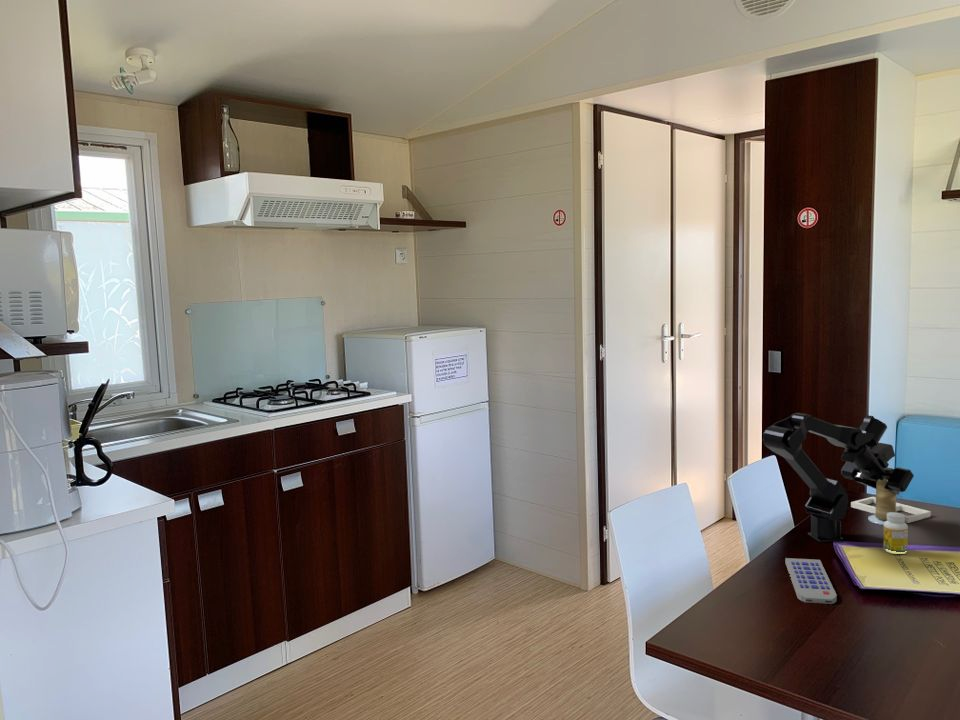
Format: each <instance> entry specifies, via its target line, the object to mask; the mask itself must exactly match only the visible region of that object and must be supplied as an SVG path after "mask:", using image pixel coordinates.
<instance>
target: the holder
mask: <svg viewBox="0 0 960 720" xmlns="http://www.w3.org/2000/svg"><path fill="white" fill-rule="evenodd" d="M871 504H874V505H876V496H870V497H866V498H862V499H858V500H854V501H851V502H850V508H853V509H857V510H859V511H863V512H868V513H871V514H873V515H875V513H876V506H873V505H871ZM900 511H902V512H906V513H909V515H906V514H904V515H905V523H906V524H910V523H913V522H917V521H920V520H923V519H924V520H925V519H927V518H931V516H932V511H930V510H926V509H923V508H918V507H915V506H911V505H906V504H903V503H899V502H896V513H898V512H900Z"/></svg>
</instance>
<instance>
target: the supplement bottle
mask: <svg viewBox="0 0 960 720" xmlns="http://www.w3.org/2000/svg"><path fill="white" fill-rule="evenodd" d="M905 515H906V514H903V513H901V512H889V513H887V520H888V521H886V522H884V525H883V549H884V548H885V549H888V550H891V551H896V552H905V551H907V550H909V549H908V548H909V547H908V545H909V542H908V541H909V540H908V539H909V527H908V523H906V522H904V521H905Z"/></svg>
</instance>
